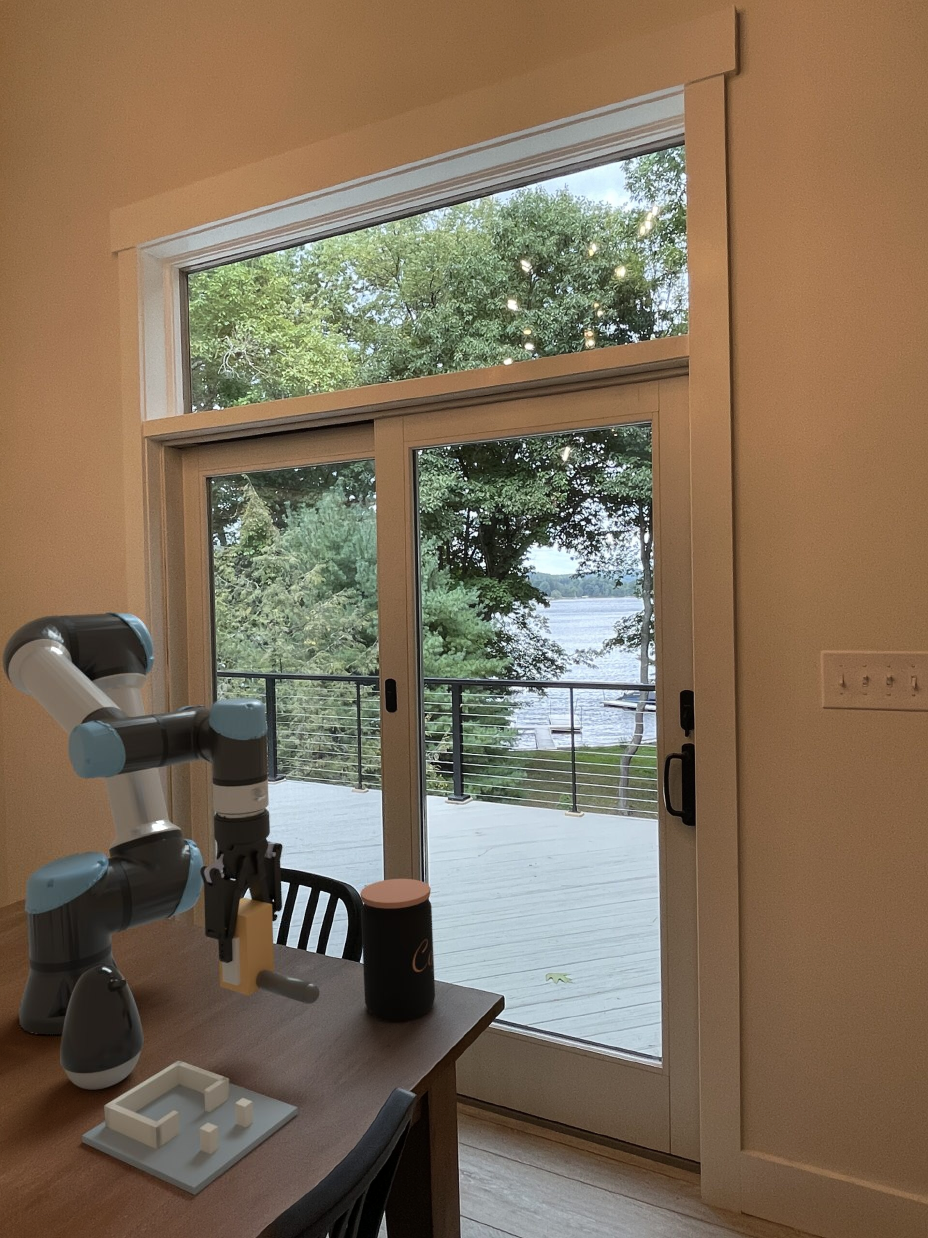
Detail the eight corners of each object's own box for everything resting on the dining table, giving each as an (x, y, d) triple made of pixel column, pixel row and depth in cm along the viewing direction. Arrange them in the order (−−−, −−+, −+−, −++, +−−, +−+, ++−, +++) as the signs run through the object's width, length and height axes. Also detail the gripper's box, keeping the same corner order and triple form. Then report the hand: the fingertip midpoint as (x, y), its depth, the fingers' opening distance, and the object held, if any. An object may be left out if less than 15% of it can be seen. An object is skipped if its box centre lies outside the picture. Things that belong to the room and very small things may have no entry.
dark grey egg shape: (94, 1110, 107) (88, 990, 107) (45, 1087, 113) (39, 973, 112) (162, 1070, 116) (156, 958, 115) (113, 1051, 121) (108, 944, 121)
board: (82, 1142, 101) (80, 1114, 101) (189, 1074, 114) (188, 1050, 114) (194, 1195, 91) (193, 1164, 91) (297, 1114, 105) (296, 1087, 105)
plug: (220, 986, 120) (217, 909, 120) (246, 972, 125) (243, 897, 124) (304, 1013, 112) (302, 931, 112) (329, 997, 117) (327, 917, 116)
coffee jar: (425, 1027, 125) (420, 904, 124) (355, 1022, 127) (350, 901, 126) (442, 992, 135) (437, 879, 135) (377, 989, 137) (372, 877, 137)
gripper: (210, 831, 110) (217, 1008, 111) (305, 798, 126) (310, 954, 127) (171, 823, 114) (177, 995, 115) (267, 793, 130) (272, 944, 131)
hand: (246, 973), depth 121 cm, fingers closed on plug, 5 cm apart
